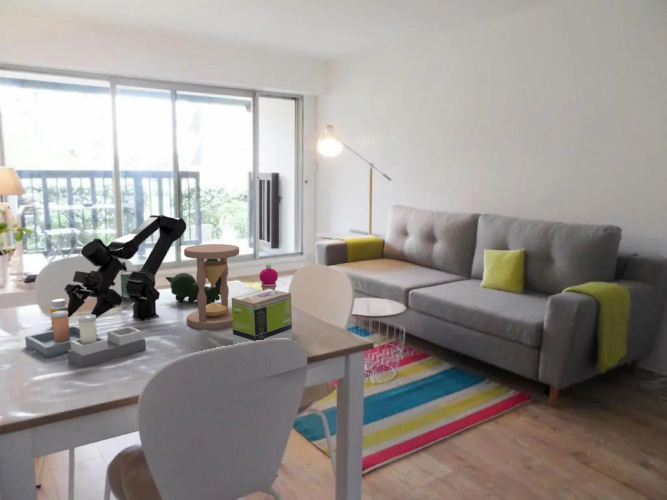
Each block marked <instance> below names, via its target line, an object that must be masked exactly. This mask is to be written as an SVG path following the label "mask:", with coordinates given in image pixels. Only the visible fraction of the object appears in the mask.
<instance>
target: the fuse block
mask: <svg viewBox="0 0 667 500" xmlns="http://www.w3.org/2000/svg"><path fill="white" fill-rule="evenodd" d="M106 333H107V339H106V338H103V337H101V336H99V335H98V336H97V342H94V343H90V344H86V345H83V344H81V342H80V339H76V340H72V341H70V342H71V350H68V353H67V355H68V356H67V357H68V362H69V363H72V364H73V365H74V366H76V367H78V368H80V369H84V368H86V367H91V366H94V365H97V364H100V363H104V362H107V361H111V360H114V359H117V358H121V357H125V356H127V355H132V354H134V353H135V354H136V353H138V352H141V351H144V350H146V347H147V346H146V345H147V344H146V339H145V338H143V330H139V328H138V329H137V328H135V327H132V326H126V327H122V328H117V329H113V330H110V331H109V330H108V331H107V332H106Z"/></svg>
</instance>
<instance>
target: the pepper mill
mask: <svg viewBox="0 0 667 500" xmlns="http://www.w3.org/2000/svg"><path fill="white" fill-rule="evenodd" d="M278 279H279V276H278V272H277V270H275V269H274V268H272V265H271V264H270V263H267V264H266V265H265V268H264V269H262V270H261V271H260V273H259V281H260V282H261V283H260V284H261V286H260V287H261V290H265V289H272V290H276V288H277V283H276V282H277V281H278Z"/></svg>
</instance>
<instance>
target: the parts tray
mask: <svg viewBox="0 0 667 500" xmlns="http://www.w3.org/2000/svg"><path fill="white" fill-rule="evenodd" d="M69 333H70V341H72V340H76V339H80V328H79V325H71V326H70V325H69ZM97 336H99V335H98V334H97ZM24 338H25V347H26V348H28V349H29V350H31V351H33V352H35V353H36V354H38V355H41V357H43V358H45V359H51V358H54V357H57V356H61V355H65V354H68V350H71V342H70V341H67V342H63V343H58V344H54V333H53V329H52V330H48V331H45V332H40V333H34V334H29V335H27V336H25V337H24Z"/></svg>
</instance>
